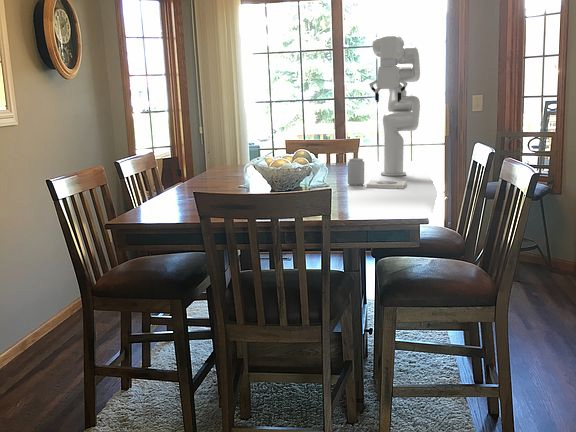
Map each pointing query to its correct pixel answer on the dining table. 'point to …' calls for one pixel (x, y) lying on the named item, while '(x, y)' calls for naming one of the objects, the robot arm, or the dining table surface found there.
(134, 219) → the dining table surface
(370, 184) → the tile
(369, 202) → the dining table surface
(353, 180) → the can
